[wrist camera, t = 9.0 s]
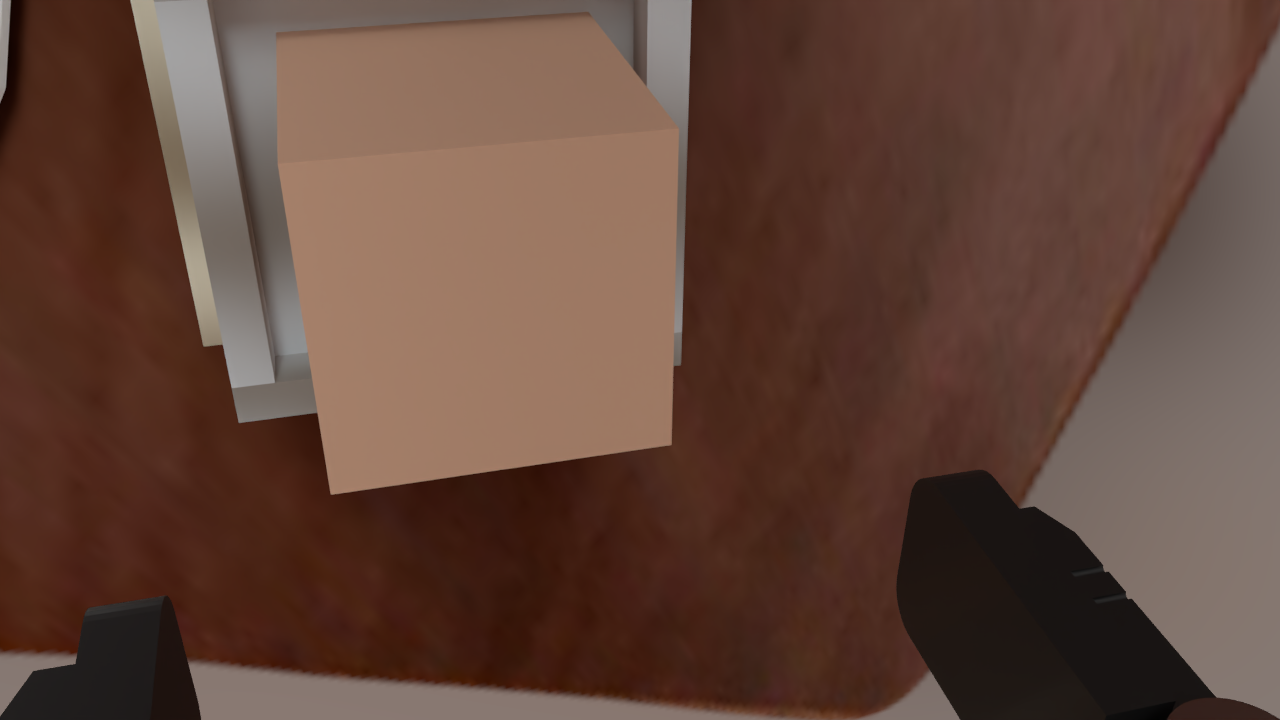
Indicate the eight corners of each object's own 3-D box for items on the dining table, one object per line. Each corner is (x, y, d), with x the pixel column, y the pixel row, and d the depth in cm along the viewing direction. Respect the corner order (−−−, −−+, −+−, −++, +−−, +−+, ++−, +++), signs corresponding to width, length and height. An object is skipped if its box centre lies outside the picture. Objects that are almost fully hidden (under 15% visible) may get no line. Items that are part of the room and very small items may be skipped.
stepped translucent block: (117, -200, 26) (54, -118, 18) (626, -212, 28) (755, -145, 21) (210, 268, 31) (191, 474, 24) (626, 225, 34) (726, 400, 26)
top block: (275, 31, 21) (277, 164, 16) (588, 12, 22) (678, 128, 17) (318, 310, 24) (330, 495, 19) (592, 279, 25) (671, 444, 20)
